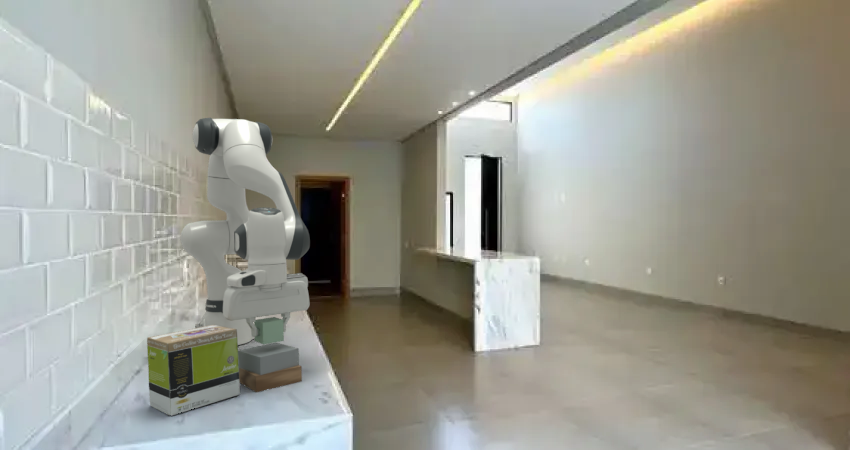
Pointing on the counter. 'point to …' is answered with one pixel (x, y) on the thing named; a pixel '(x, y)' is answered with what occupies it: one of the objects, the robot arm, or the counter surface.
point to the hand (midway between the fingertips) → (268, 334)
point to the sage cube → (270, 330)
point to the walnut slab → (270, 378)
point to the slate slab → (268, 358)
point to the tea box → (192, 368)
